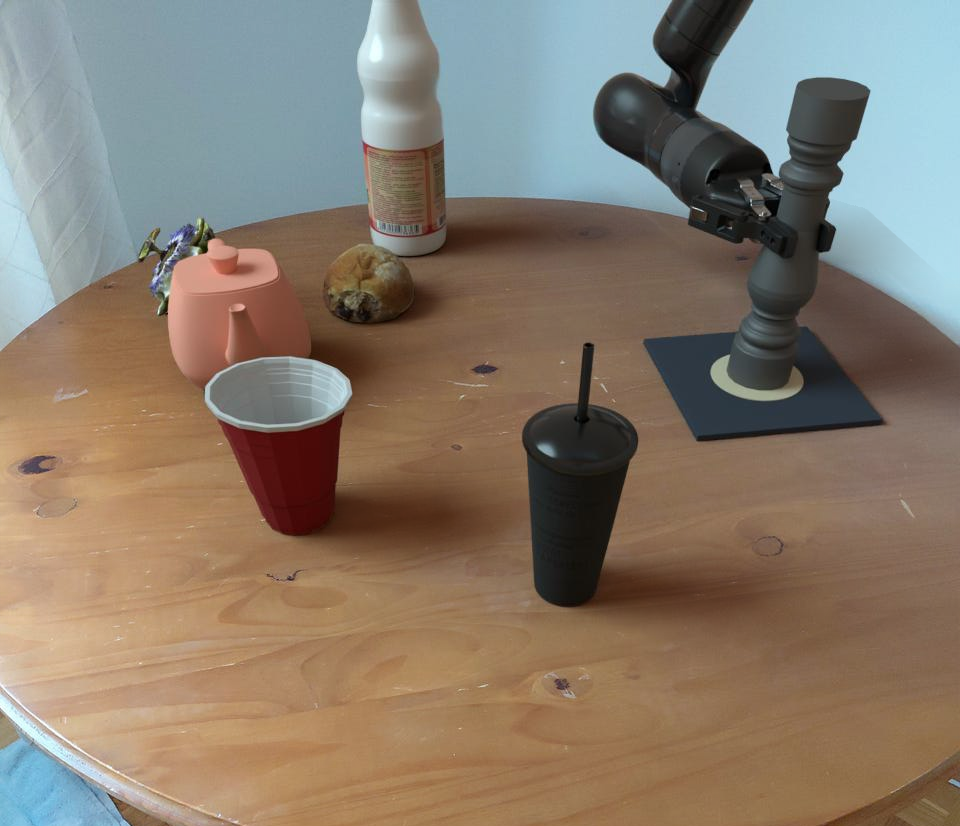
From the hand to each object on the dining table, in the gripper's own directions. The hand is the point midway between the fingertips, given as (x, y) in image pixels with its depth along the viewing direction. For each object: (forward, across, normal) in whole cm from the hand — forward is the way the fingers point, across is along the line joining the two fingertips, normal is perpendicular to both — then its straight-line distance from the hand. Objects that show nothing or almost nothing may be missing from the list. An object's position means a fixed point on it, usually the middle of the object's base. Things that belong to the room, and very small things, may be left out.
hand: (810, 243), depth 76 cm
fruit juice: (-45, -24, +15) cm, 54 cm away
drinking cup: (+19, -29, +15) cm, 38 cm away
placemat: (-3, 0, +15) cm, 15 cm away
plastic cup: (+3, -47, +15) cm, 49 cm away
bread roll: (-31, -33, +15) cm, 47 cm away
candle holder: (-3, 0, +14) cm, 14 cm away
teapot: (-20, -48, +15) cm, 54 cm away
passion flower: (-35, -50, +15) cm, 63 cm away
